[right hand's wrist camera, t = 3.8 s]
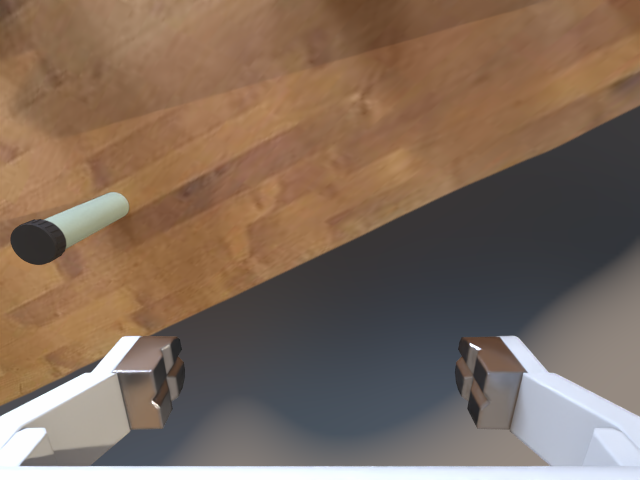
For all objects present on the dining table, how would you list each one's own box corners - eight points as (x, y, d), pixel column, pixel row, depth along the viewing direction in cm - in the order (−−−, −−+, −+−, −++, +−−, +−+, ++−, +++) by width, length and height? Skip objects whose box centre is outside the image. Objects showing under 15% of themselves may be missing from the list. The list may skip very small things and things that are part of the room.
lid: (19, 216, 43) (5, 222, 41) (63, 220, 43) (51, 225, 41) (27, 256, 44) (14, 263, 42) (70, 260, 44) (59, 267, 43)
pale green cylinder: (100, 191, 58) (13, 224, 41) (127, 193, 58) (51, 227, 41) (104, 216, 59) (20, 259, 43) (130, 218, 59) (57, 262, 43)
